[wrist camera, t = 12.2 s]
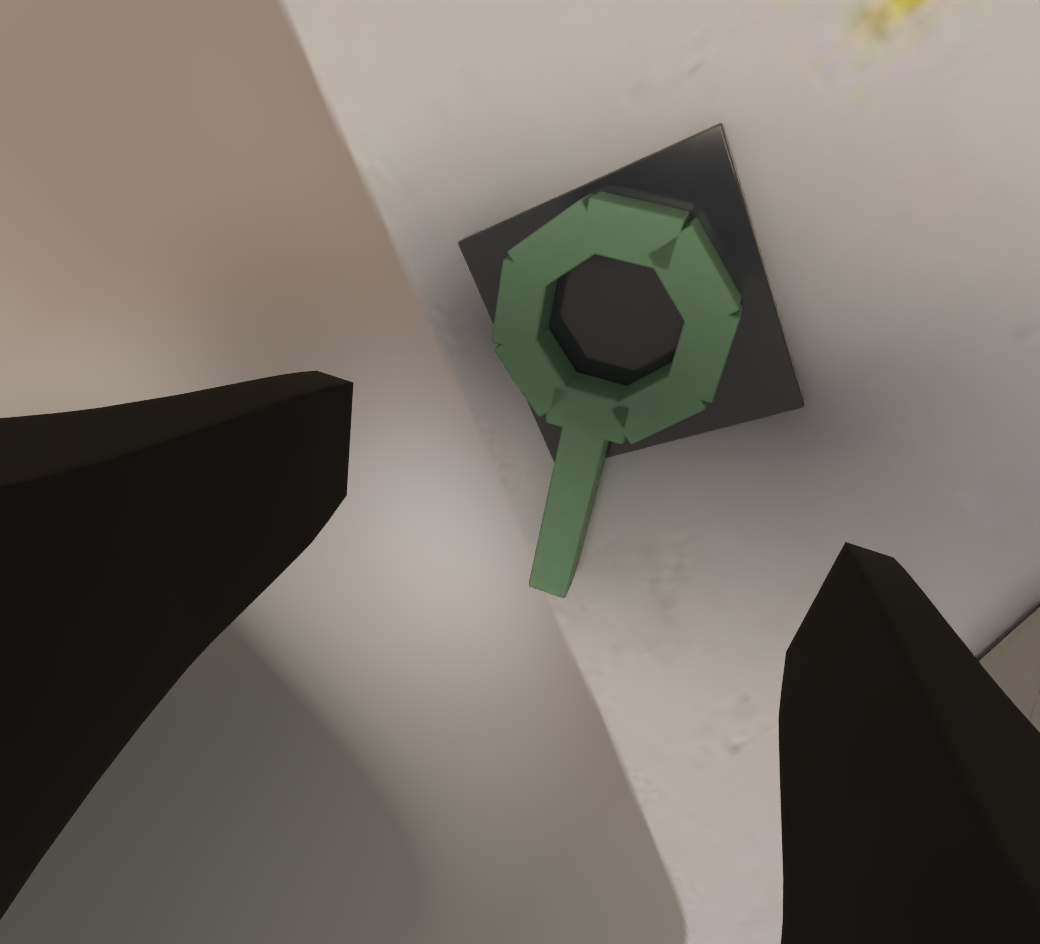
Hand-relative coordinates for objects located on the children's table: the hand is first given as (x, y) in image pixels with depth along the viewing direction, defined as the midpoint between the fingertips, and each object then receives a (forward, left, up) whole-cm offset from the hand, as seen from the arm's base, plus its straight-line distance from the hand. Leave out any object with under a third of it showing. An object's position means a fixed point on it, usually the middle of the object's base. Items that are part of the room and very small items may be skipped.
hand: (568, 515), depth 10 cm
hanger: (-3, +1, -9) cm, 10 cm away
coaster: (0, +1, -10) cm, 10 cm away
